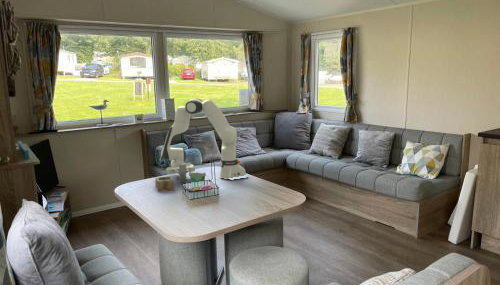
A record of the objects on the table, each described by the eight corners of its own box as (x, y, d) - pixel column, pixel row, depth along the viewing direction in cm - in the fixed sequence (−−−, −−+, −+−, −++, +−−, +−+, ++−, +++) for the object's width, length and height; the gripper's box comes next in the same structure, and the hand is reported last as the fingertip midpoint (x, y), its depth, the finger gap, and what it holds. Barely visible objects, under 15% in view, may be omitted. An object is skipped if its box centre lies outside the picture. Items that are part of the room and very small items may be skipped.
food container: (186, 187, 257) (185, 173, 255) (190, 184, 262) (189, 171, 261) (202, 188, 253) (202, 174, 251) (205, 186, 259) (205, 172, 257)
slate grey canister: (185, 179, 269) (185, 163, 267) (187, 181, 264) (186, 164, 262) (178, 180, 267) (178, 163, 265) (180, 181, 263) (179, 165, 260)
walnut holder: (170, 184, 263) (169, 175, 262) (173, 189, 250) (173, 180, 249) (155, 185, 259) (155, 176, 258) (158, 191, 246) (158, 182, 245)
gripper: (164, 164, 272) (168, 169, 259) (192, 162, 280) (196, 166, 267) (165, 173, 273) (168, 177, 261) (192, 170, 281) (196, 174, 268)
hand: (183, 172), depth 264 cm, fingers closed on slate grey canister, 5 cm apart
